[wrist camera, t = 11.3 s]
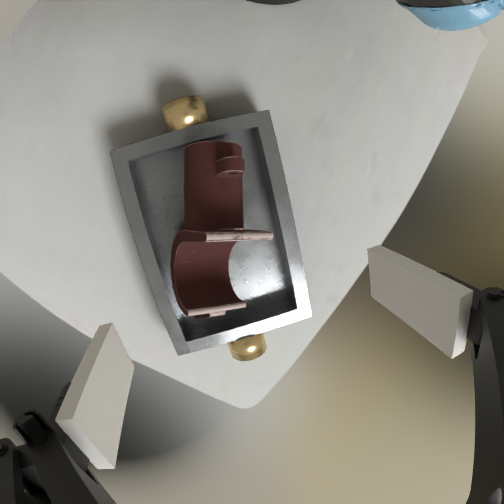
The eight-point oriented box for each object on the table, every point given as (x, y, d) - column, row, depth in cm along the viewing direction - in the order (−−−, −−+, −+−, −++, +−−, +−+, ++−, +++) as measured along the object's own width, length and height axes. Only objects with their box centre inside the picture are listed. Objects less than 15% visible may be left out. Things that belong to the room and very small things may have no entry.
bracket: (172, 319, 31) (212, 347, 23) (167, 159, 30) (205, 128, 22) (222, 311, 34) (275, 333, 26) (218, 163, 34) (269, 139, 25)
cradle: (113, 128, 29) (102, 122, 24) (254, 92, 30) (262, 81, 26) (186, 356, 37) (186, 377, 33) (304, 322, 39) (316, 338, 35)
